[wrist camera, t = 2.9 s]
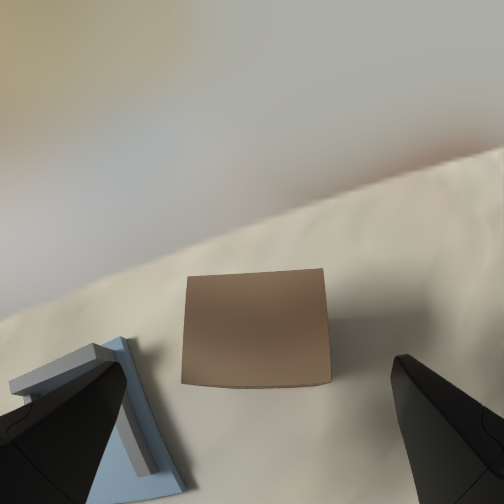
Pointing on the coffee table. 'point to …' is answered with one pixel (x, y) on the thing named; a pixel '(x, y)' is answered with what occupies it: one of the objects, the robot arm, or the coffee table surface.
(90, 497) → the cradle
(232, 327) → the walnut block
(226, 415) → the coffee table surface
